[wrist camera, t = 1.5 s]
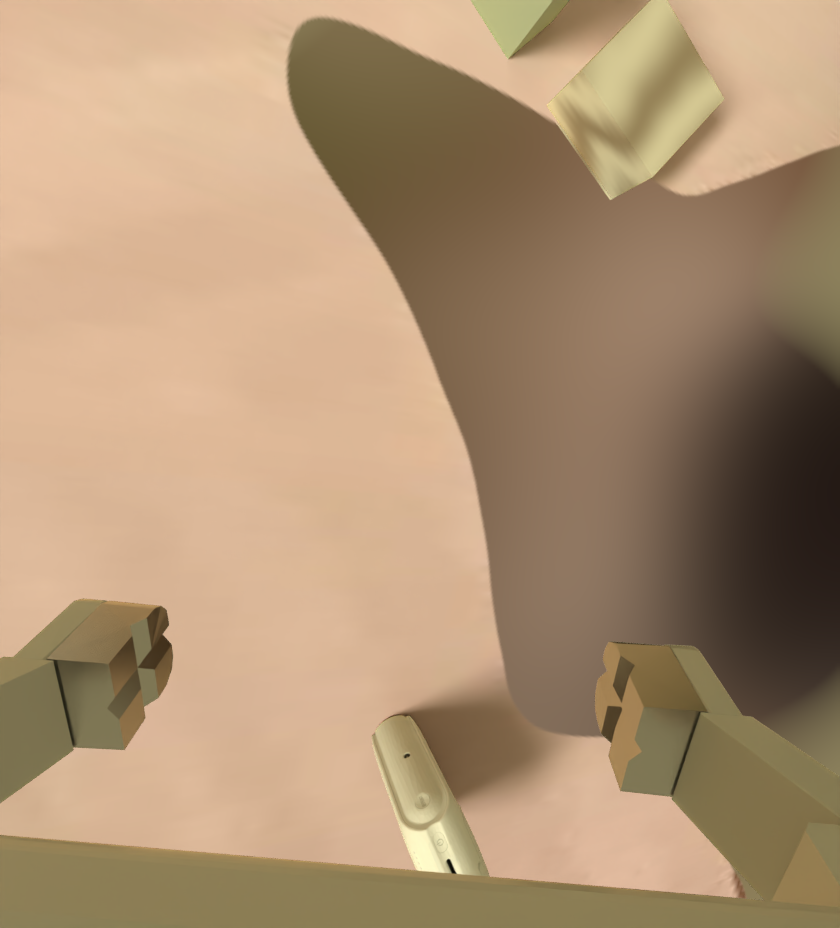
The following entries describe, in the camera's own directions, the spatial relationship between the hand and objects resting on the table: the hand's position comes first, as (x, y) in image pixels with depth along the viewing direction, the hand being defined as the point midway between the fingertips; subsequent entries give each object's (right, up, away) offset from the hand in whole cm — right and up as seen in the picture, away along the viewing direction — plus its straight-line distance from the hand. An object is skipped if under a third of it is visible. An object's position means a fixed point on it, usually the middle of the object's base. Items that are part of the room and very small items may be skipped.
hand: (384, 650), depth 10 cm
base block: (+17, +32, +34) cm, 50 cm away
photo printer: (0, -22, +35) cm, 42 cm away
